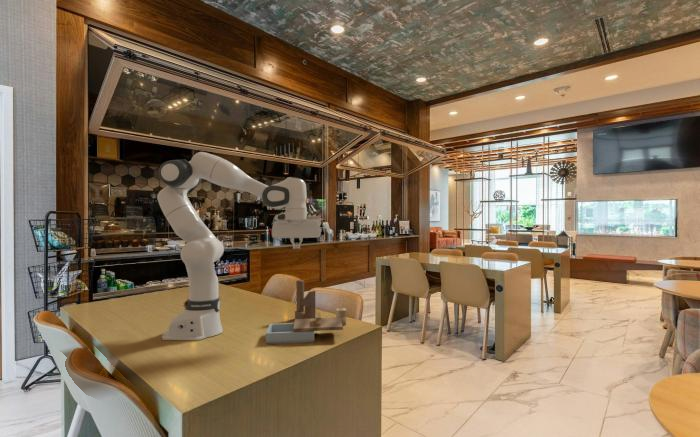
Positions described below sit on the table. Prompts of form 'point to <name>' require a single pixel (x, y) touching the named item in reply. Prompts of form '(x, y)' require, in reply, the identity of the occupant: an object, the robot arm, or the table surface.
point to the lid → (317, 324)
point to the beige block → (341, 315)
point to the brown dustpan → (304, 302)
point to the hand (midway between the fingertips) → (296, 248)
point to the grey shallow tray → (287, 334)
